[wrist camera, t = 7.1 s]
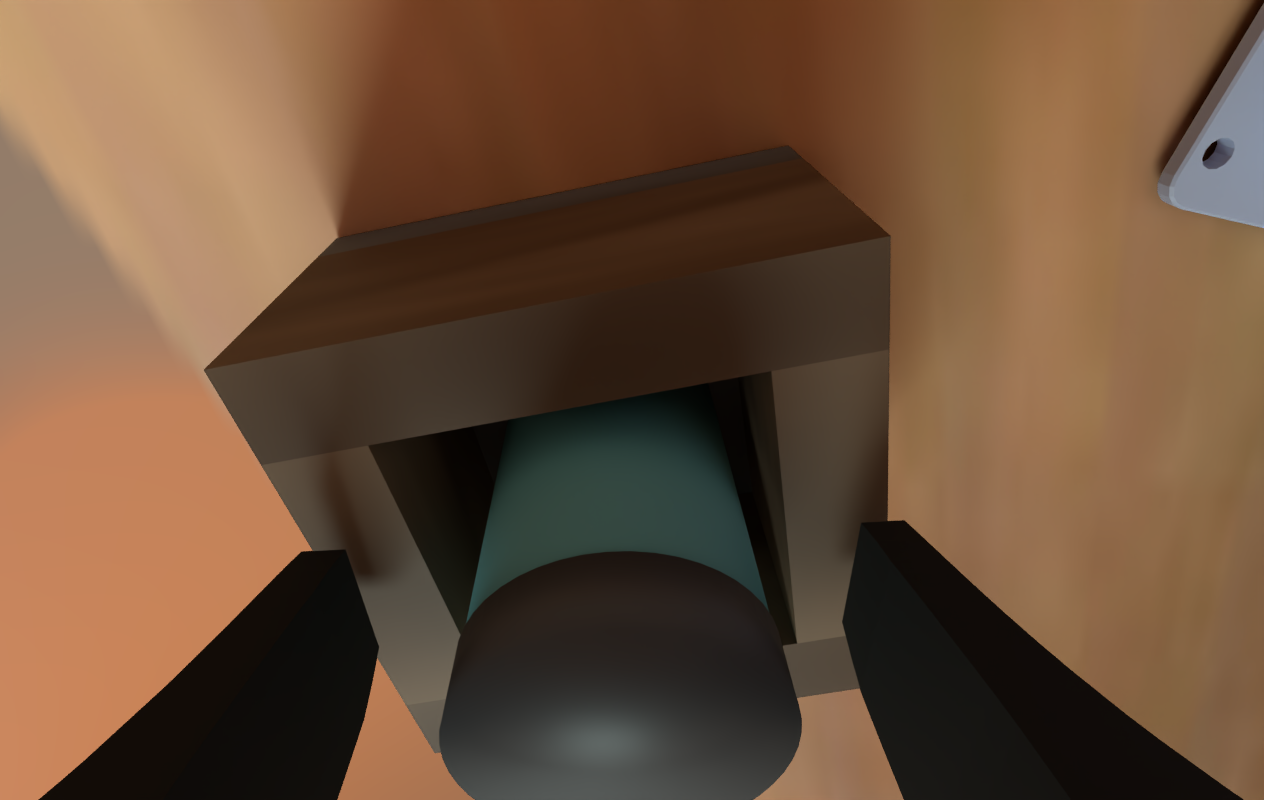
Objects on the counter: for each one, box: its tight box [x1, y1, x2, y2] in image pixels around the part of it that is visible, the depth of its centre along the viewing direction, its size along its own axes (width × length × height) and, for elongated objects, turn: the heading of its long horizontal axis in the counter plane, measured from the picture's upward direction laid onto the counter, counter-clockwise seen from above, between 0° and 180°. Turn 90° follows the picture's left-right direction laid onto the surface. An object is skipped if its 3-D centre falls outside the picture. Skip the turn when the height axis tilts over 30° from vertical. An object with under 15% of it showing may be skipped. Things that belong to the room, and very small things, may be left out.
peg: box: [439, 383, 802, 800], centre depth 11 cm, size 4×4×7 cm
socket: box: [204, 146, 891, 753], centre depth 12 cm, size 8×8×5 cm
